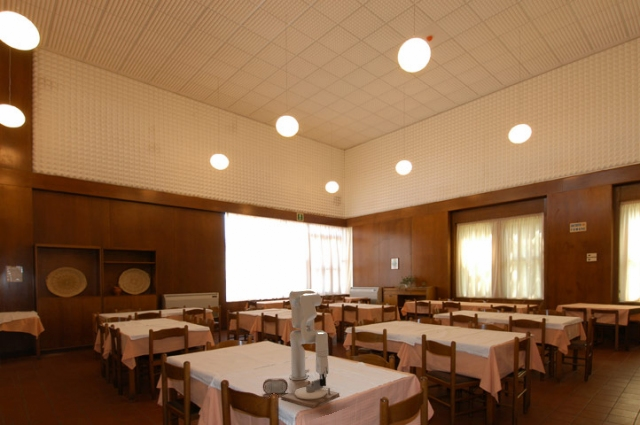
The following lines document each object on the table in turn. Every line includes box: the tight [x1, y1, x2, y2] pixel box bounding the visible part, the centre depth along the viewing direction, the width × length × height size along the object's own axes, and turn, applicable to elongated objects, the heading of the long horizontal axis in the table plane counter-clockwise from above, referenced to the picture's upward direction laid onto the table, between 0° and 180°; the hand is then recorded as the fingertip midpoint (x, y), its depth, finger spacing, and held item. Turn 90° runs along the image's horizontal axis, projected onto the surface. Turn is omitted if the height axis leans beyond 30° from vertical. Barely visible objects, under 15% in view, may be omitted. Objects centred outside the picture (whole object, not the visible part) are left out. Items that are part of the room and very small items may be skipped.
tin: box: [262, 378, 289, 395], centre depth 230 cm, size 15×3×8 cm, turn 92°
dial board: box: [280, 380, 340, 409], centre depth 221 cm, size 24×24×6 cm
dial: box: [294, 378, 327, 400], centre depth 222 cm, size 18×18×6 cm
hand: (323, 385), depth 225 cm, fingers closed
